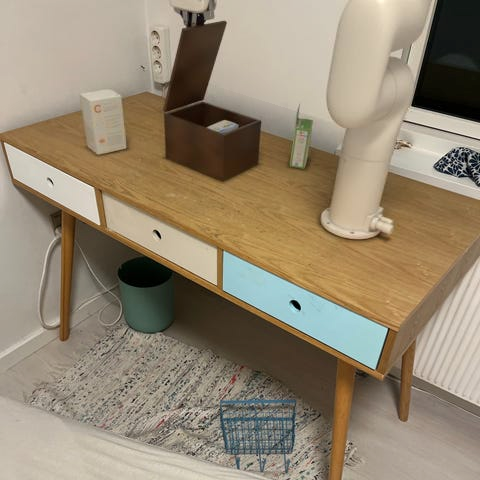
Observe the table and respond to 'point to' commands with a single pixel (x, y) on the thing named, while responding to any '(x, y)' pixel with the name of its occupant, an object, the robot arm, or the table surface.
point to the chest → (211, 140)
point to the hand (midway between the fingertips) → (193, 46)
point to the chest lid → (193, 64)
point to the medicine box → (224, 126)
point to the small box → (103, 121)
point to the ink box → (301, 142)
